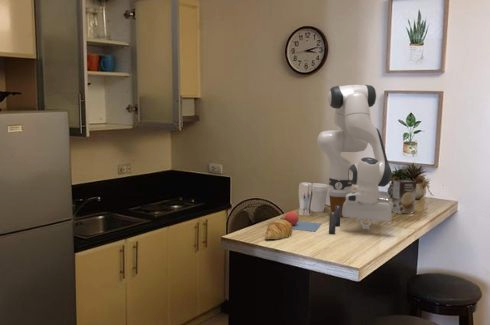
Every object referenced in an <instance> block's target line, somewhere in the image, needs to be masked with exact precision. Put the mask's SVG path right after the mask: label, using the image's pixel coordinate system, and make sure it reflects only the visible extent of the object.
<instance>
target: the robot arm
mask: <svg viewBox="0 0 490 325" xmlns="http://www.w3.org/2000/svg"><path fill="white" fill-rule="evenodd" d="M376 91H377V90H376V89H375V87H374V86H373V85H370V84H365V85H363V84H349V85H347V84H346V85H340V86H339V85H335V86H332V87H331V88H330V89H329V92H328V95H327V102H328V103H329V106H330V107H331V109H332V108H333V109H334V115H333V116H334V117H333V122H334V124H335V126H336V127H337V128H338V129H340V130H333V129H332V130H324V131H321V132H320V133H319V134H318V136H317V139H316V140H317V142H316V144H317V146H318V148H319V149H320V150H321V151H322V152H324V154H325V155H326V157H327V159H328V161H329V167H330V168H329V170H330V172H329V179H328V191H327V196H326V202H325V206H329V207H330V196H329V191H330V190H333V189H340V190H346V191H348V194H347V195H346V201H345V202H344V204H343V208H342V216H343V217H342V218H350V219H358V220H359V222H360V225H361V229H362V230H365V231H369V230H370V226H371V225H372V223H373V221H380V222H391V221H392V208H393V202H392V200H391V199H389V198H381V197H379V194H380V190H379V187H381V188H382V187H383V188H384V187H386V186H387V185H389V184H390V183H391V181H392V179H393V172H392V169H391V165H390V164H389V161H388V158H387V154H386V150H385V146H384V142H383V138H382V136H381V133H380V132H381V131H380V130H379V128H377V127H375V125H374V123H373V121H372V119H371V112H370V108H371V107H373V106H374V105H375V104H376V100H377V92H376ZM368 145H370V146H371V148H372V151H373V155H374V158H373V157H368V156H367V157H362V158H360V160H359V162H356V163H353V164H352V162H351V161H350V160H349V159H347V158H345V157H343V156H342V155H341V154H342V153H358V152H364V151H365V150H366V149H367V148H368ZM353 186H357V188H356V191H355V190H354V188H353ZM364 220H368V224H365V223H364Z"/></svg>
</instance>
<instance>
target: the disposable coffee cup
mask: <svg viewBox="0 0 490 325" xmlns="http://www.w3.org/2000/svg"><path fill="white" fill-rule="evenodd" d="M347 194H348V191H346V190H340V189H333V190H330V191H329V196H330V206H329V207H330V212H335V206H336V205H339V206H341V218H344V217H343V216H342V208H343V204H344V202H345V201H346V195H347Z"/></svg>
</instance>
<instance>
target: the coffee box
mask: <svg viewBox="0 0 490 325" xmlns="http://www.w3.org/2000/svg"><path fill="white" fill-rule="evenodd" d="M416 191H417V181H414V180H410V179H394V180H393V189H392V198H391V199H392V200H391V201H392V202H393V208H392V209H391V212H392V211H393V212H392V213H394V212H395V213H394V214H396V213H398V214H397V215H403V214H402V213H411V212H414V213H415V205H416V204H415V202H416V195H417V194H416Z"/></svg>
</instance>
